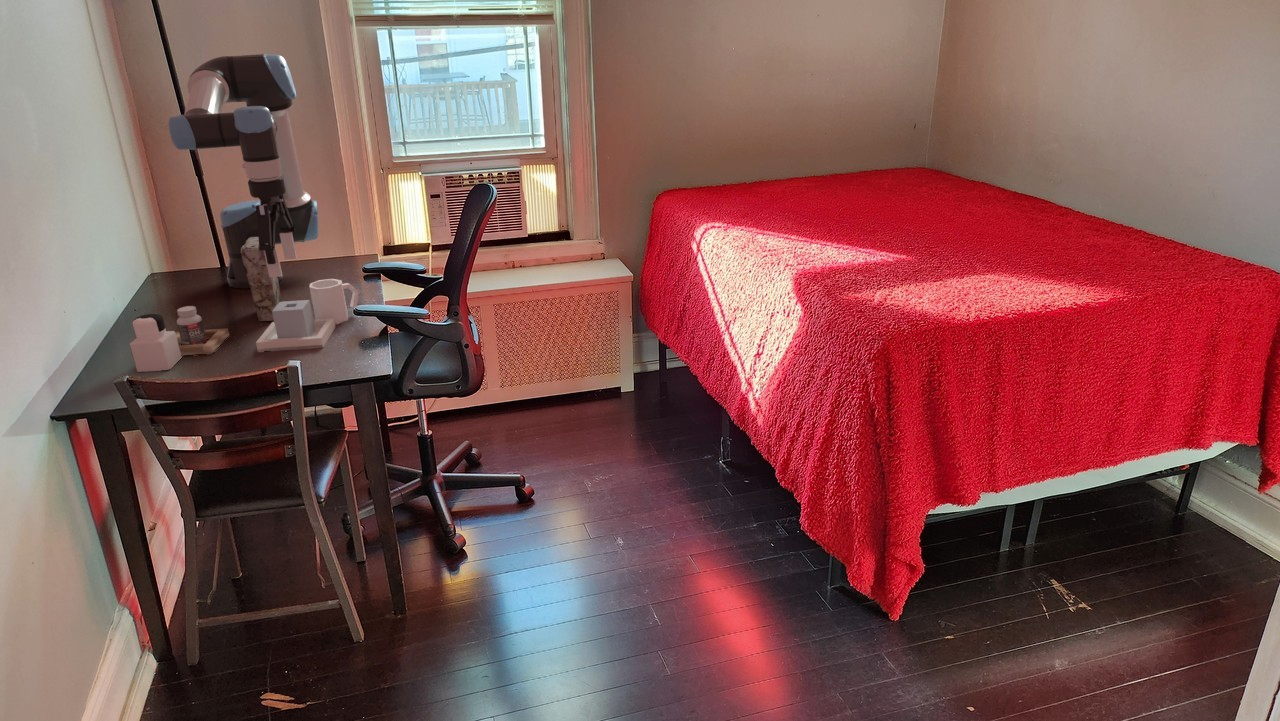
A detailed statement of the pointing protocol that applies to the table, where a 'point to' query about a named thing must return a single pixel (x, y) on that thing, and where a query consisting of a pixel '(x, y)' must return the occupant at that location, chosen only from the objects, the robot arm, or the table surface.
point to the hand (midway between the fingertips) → (283, 267)
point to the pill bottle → (190, 326)
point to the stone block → (260, 280)
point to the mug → (331, 299)
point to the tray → (317, 340)
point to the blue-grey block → (293, 319)
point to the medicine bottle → (154, 344)
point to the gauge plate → (214, 341)
